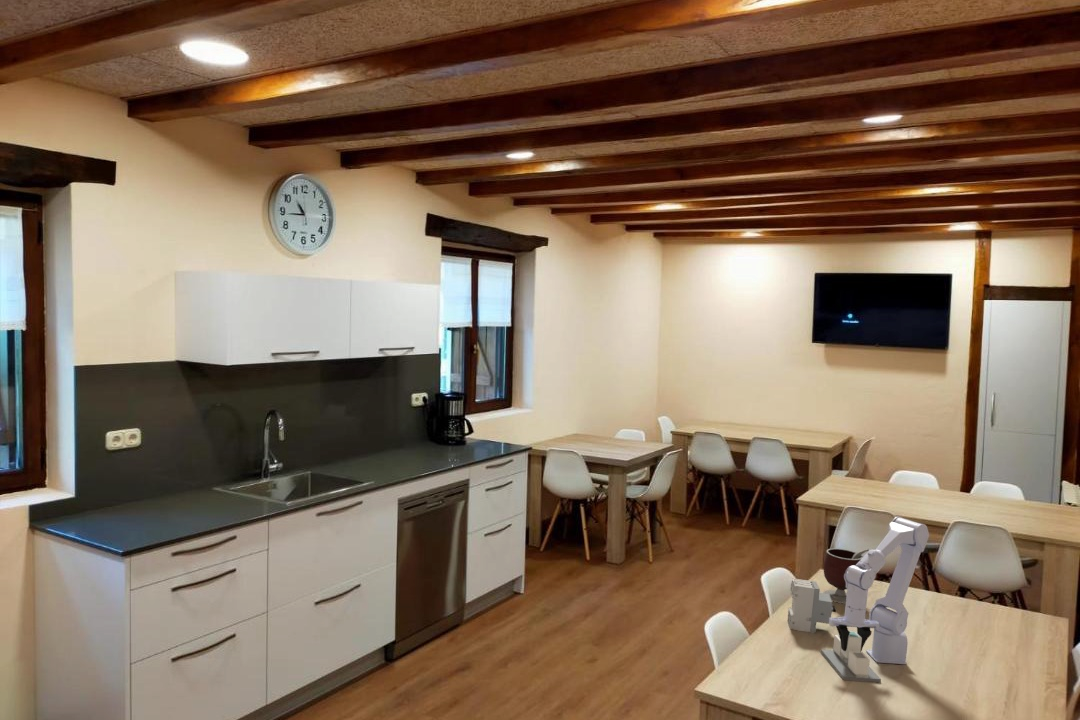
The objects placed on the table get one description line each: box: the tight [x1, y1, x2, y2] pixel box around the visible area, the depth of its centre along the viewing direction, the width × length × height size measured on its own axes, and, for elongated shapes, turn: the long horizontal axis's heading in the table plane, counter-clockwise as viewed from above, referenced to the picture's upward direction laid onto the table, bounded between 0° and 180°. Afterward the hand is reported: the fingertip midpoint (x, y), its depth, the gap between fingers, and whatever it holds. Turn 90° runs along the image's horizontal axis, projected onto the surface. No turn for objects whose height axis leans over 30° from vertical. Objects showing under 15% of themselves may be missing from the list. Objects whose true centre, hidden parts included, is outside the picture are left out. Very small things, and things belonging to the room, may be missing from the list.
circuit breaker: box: [787, 578, 837, 634], centre depth 262 cm, size 8×14×15 cm, turn 78°
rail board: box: [820, 634, 882, 683], centre depth 235 cm, size 11×18×6 cm, turn 0°
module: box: [841, 630, 862, 658], centre depth 235 cm, size 4×4×7 cm
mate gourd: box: [822, 548, 870, 605], centre depth 293 cm, size 16×14×20 cm
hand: (851, 650), depth 235 cm, fingers closed on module, 4 cm apart
